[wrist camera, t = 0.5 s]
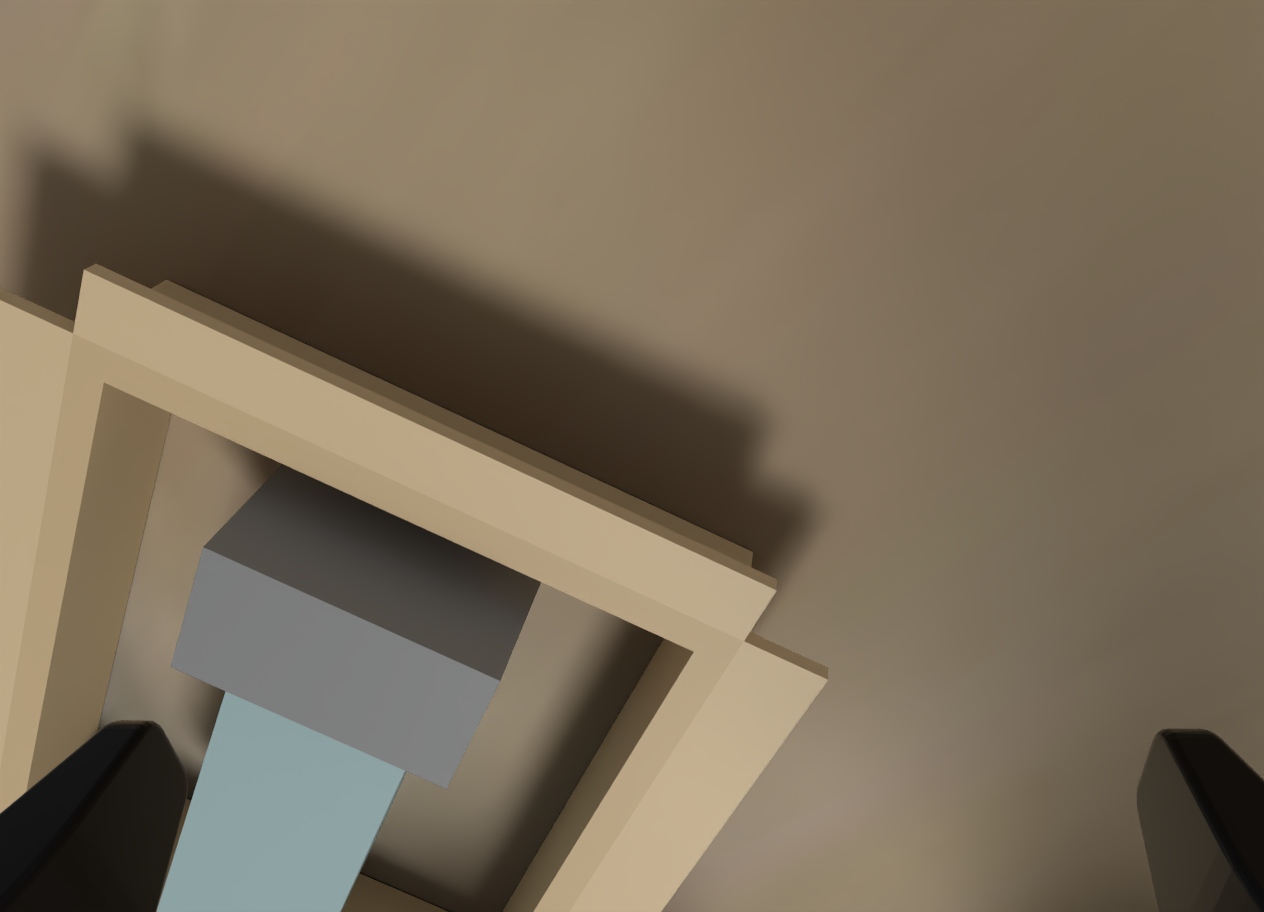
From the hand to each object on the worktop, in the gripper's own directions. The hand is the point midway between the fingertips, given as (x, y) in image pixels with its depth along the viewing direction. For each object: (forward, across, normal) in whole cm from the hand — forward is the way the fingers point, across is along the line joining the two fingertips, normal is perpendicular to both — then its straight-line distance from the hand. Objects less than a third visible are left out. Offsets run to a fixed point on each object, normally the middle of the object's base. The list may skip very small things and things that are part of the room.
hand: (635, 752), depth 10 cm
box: (+13, +10, +14) cm, 21 cm away
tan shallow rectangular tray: (+13, +10, +14) cm, 21 cm away
